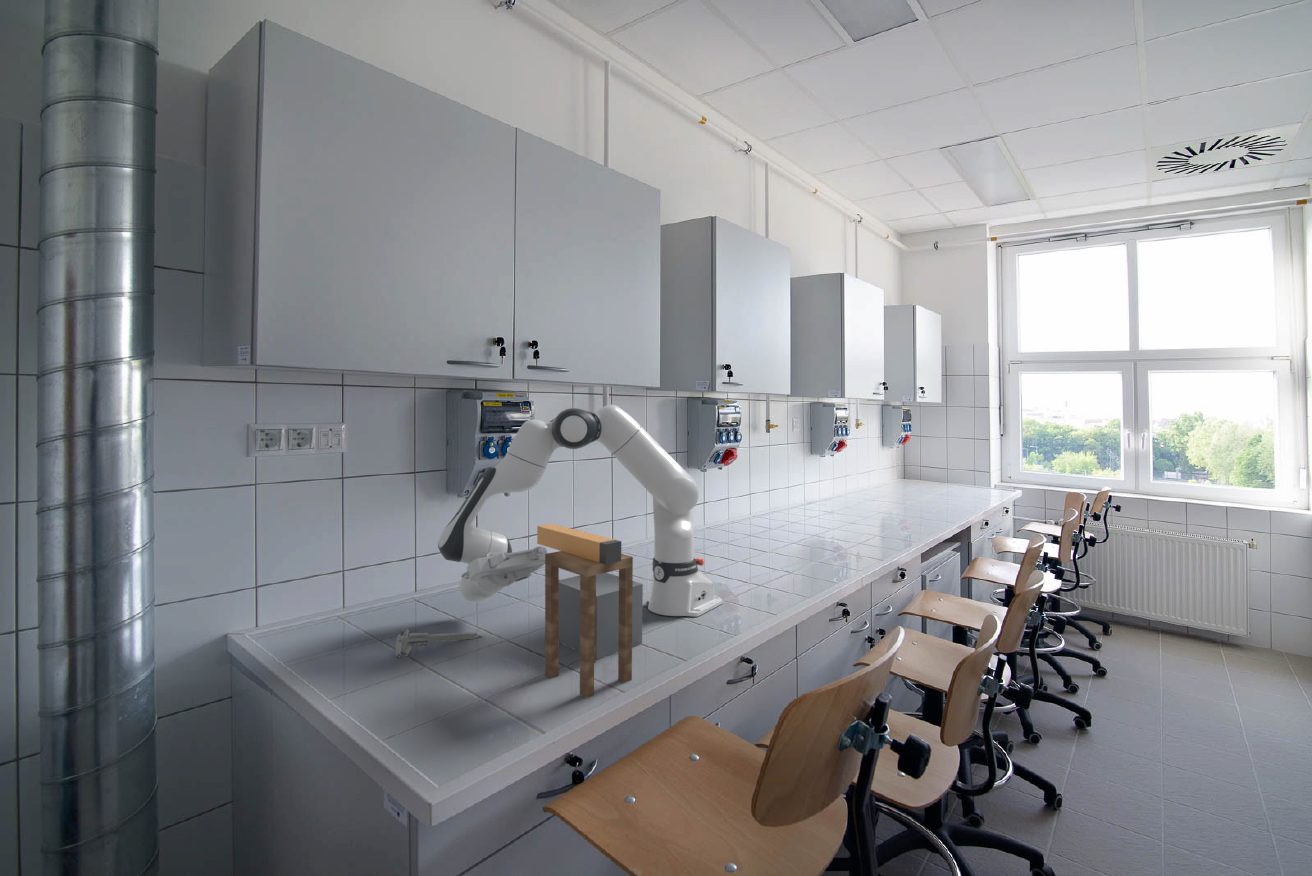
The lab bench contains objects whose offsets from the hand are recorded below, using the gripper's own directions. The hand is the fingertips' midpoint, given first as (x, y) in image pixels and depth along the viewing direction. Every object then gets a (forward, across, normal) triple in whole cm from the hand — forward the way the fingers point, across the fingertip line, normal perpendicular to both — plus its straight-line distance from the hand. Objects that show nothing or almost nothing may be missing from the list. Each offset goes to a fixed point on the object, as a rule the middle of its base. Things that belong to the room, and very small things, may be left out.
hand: (523, 552), depth 149 cm
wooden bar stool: (+10, 0, +32) cm, 33 cm away
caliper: (-22, -15, +14) cm, 30 cm away
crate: (-2, +14, +24) cm, 28 cm away
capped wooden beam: (+20, 0, +7) cm, 21 cm away
